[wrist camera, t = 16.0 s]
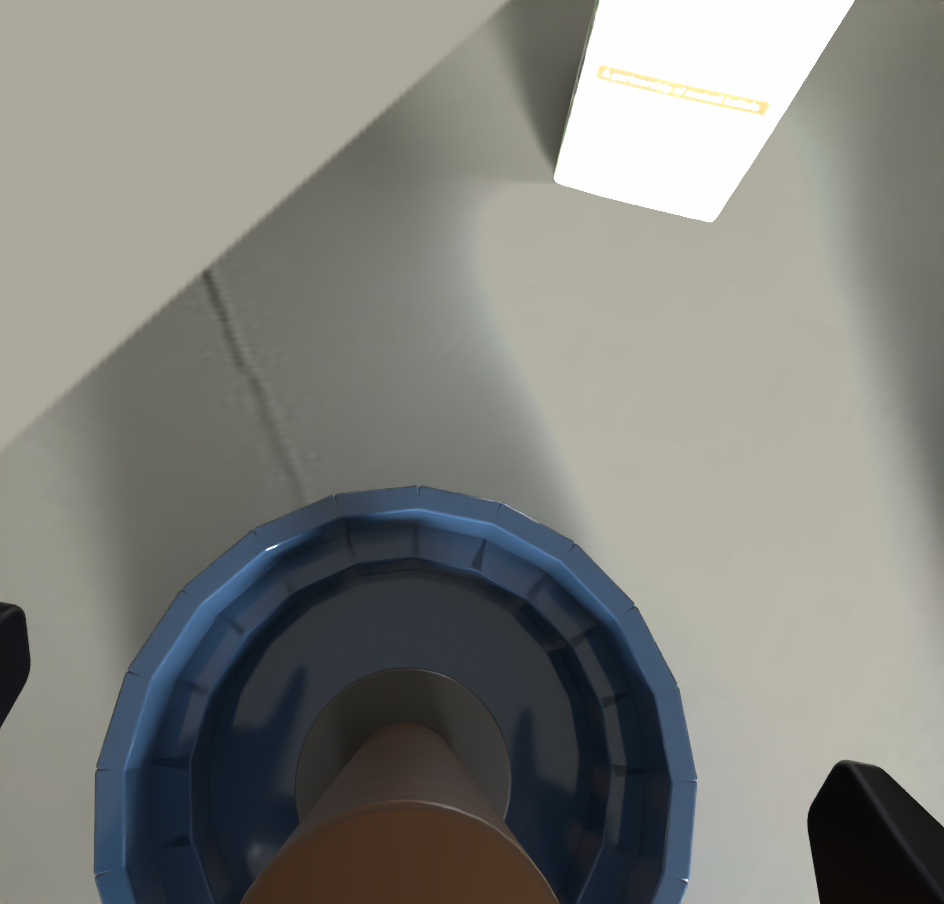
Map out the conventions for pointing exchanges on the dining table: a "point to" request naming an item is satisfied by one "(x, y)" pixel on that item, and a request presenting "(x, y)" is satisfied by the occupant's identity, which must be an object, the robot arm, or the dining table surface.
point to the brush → (402, 803)
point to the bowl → (385, 647)
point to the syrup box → (685, 95)
